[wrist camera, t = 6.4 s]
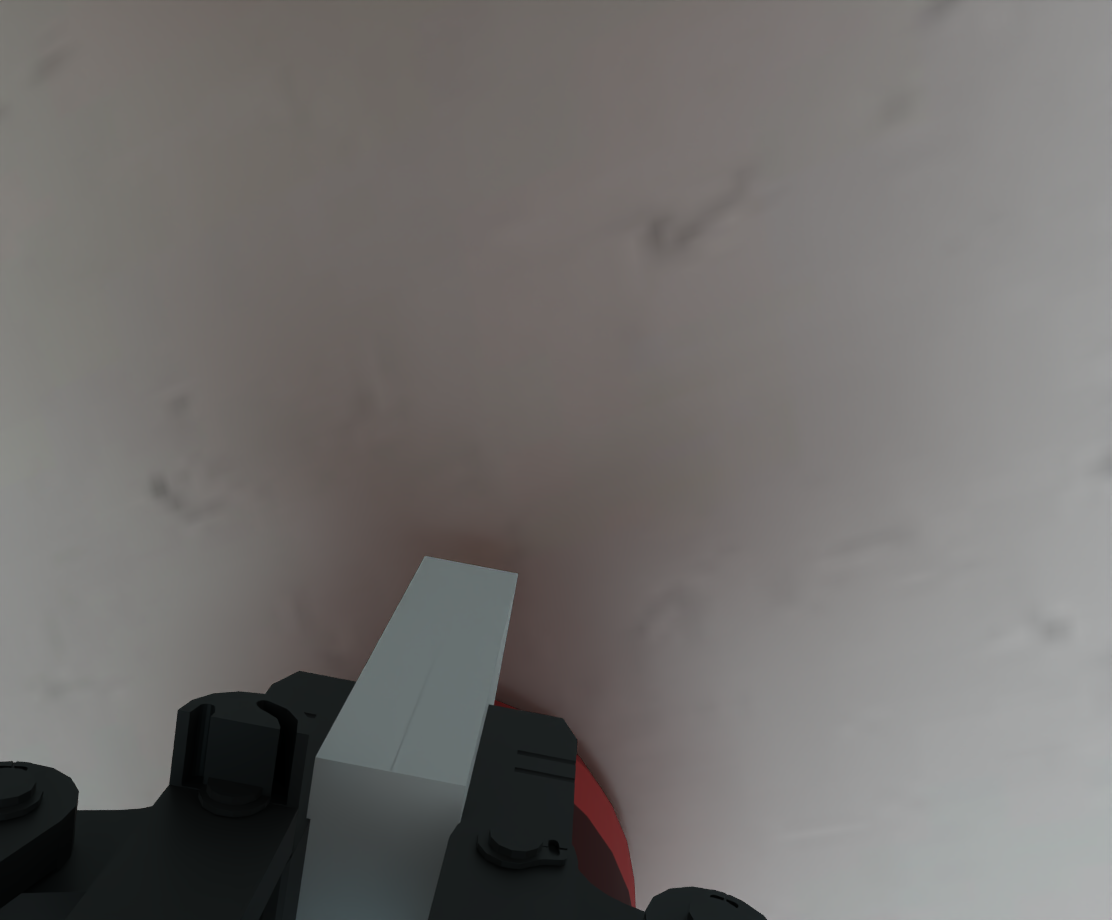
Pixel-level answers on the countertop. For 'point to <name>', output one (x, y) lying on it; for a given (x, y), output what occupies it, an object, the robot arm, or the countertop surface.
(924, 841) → the countertop surface
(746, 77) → the countertop surface
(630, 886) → the canned food
